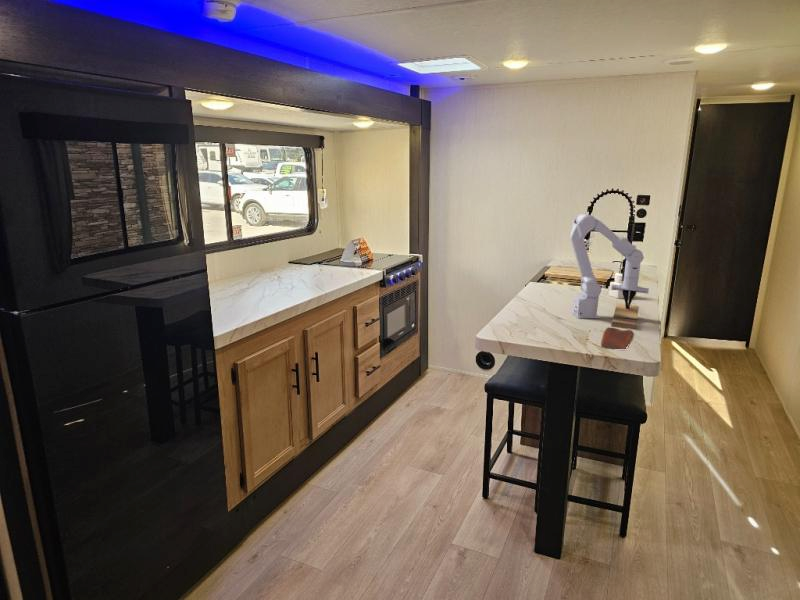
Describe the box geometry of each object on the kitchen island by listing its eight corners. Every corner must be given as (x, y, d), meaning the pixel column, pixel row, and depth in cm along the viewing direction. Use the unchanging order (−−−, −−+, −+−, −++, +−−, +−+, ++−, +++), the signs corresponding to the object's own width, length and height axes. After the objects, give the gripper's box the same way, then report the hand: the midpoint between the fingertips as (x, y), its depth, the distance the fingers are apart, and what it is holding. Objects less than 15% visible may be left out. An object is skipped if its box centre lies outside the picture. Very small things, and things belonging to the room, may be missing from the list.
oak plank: (636, 323, 217) (636, 319, 216) (613, 320, 221) (613, 316, 220) (638, 309, 225) (638, 306, 225) (616, 307, 229) (616, 303, 228)
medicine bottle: (620, 294, 267) (623, 271, 264) (629, 298, 260) (632, 274, 257) (608, 295, 265) (611, 272, 262) (617, 298, 258) (620, 275, 255)
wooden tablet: (606, 329, 210) (606, 325, 210) (633, 333, 206) (633, 329, 205) (596, 348, 187) (597, 344, 187) (626, 353, 183) (627, 348, 182)
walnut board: (635, 329, 209) (636, 323, 208) (611, 326, 212) (612, 320, 212) (636, 324, 216) (637, 318, 215) (612, 321, 219) (613, 315, 219)
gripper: (650, 276, 221) (646, 307, 225) (613, 273, 227) (610, 303, 231) (650, 279, 215) (645, 311, 218) (612, 276, 221) (608, 307, 224)
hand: (627, 307), depth 224 cm, fingers closed, pressing on oak plank
